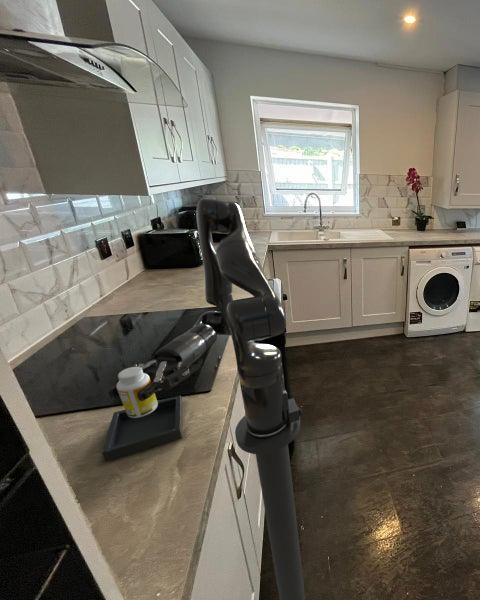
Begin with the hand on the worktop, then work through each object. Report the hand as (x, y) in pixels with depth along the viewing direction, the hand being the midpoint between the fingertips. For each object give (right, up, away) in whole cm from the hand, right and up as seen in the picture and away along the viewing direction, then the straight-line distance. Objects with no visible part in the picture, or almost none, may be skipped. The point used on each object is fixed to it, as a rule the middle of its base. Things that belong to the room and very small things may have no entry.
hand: (125, 396), depth 67 cm
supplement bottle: (0, -5, +5) cm, 7 cm away
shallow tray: (0, -10, +6) cm, 12 cm away
